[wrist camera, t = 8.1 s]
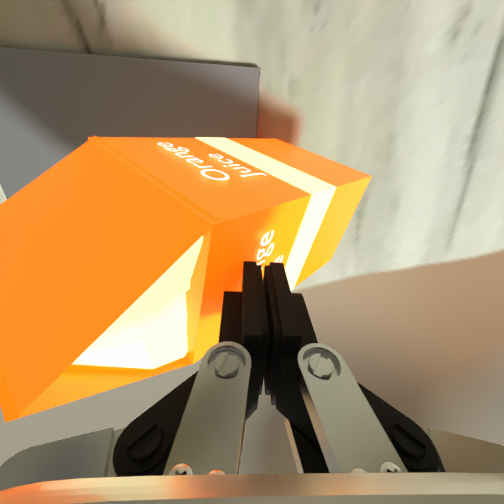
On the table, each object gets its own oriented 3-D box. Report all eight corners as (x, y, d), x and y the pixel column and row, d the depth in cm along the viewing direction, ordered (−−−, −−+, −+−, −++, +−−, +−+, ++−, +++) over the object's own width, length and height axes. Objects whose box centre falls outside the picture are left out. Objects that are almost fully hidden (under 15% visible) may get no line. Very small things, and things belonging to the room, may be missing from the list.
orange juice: (276, 136, 21) (-117, 129, 7) (374, 174, 17) (-90, 313, 3) (255, 217, 26) (-14, 306, 12) (330, 262, 22) (51, 478, 8)
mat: (-55, 43, 18) (-64, 41, 17) (259, 69, 19) (260, 67, 19) (37, 255, 27) (33, 257, 26) (247, 263, 28) (247, 265, 28)
